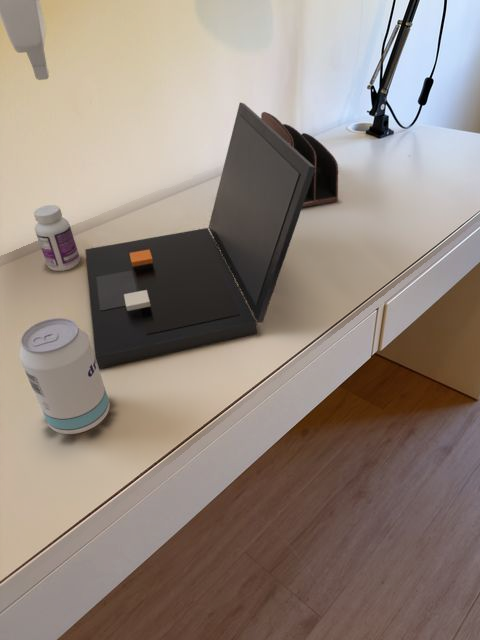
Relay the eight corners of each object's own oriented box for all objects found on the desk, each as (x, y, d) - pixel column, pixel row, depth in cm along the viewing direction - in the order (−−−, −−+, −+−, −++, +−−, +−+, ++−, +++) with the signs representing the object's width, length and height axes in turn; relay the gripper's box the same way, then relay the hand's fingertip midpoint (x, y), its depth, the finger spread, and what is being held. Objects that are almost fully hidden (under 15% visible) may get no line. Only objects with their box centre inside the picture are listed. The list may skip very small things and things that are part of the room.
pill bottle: (79, 253, 91) (64, 200, 85) (81, 268, 87) (65, 213, 81) (47, 259, 90) (29, 206, 84) (47, 274, 86) (28, 219, 80)
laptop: (99, 369, 67) (95, 356, 65) (88, 259, 89) (85, 248, 88) (257, 334, 71) (256, 321, 70) (208, 238, 94) (207, 227, 92)
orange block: (132, 266, 81) (131, 262, 80) (130, 257, 83) (129, 252, 83) (153, 263, 82) (152, 258, 81) (150, 253, 84) (149, 249, 83)
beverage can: (115, 429, 59) (88, 345, 51) (51, 447, 57) (13, 363, 49) (107, 390, 64) (81, 308, 56) (48, 405, 62) (13, 323, 54)
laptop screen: (309, 166, 59) (316, 167, 59) (239, 102, 81) (244, 103, 82) (256, 322, 70) (262, 322, 70) (207, 227, 92) (212, 228, 93)
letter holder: (289, 210, 101) (288, 134, 92) (261, 175, 116) (258, 106, 107) (338, 202, 103) (342, 127, 94) (304, 168, 118) (304, 100, 109)
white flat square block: (127, 311, 71) (126, 306, 71) (125, 298, 74) (123, 294, 73) (150, 306, 72) (149, 301, 72) (147, 294, 75) (146, 289, 74)
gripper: (-9, -43, 75) (23, 66, 83) (-26, -37, 59) (16, 96, 68) (37, -46, 76) (64, 62, 84) (33, -41, 60) (66, 90, 69)
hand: (43, 77), depth 76 cm, fingers closed
